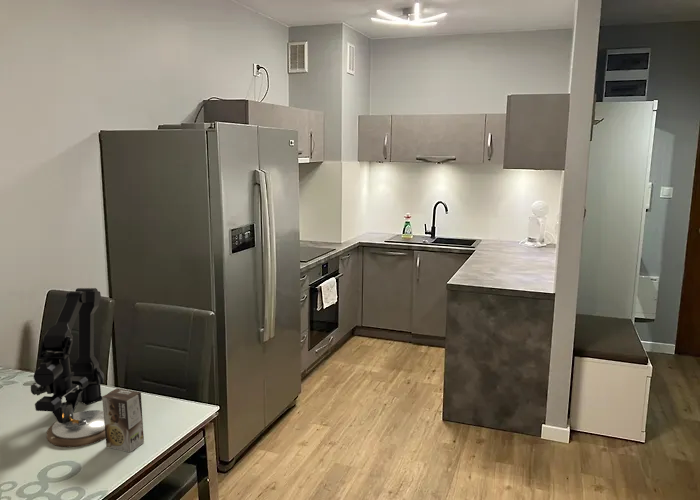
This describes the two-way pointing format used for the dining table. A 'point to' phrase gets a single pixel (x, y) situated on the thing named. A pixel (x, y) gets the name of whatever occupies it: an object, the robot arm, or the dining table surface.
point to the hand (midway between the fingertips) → (65, 418)
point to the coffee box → (123, 419)
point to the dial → (79, 424)
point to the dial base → (75, 442)
